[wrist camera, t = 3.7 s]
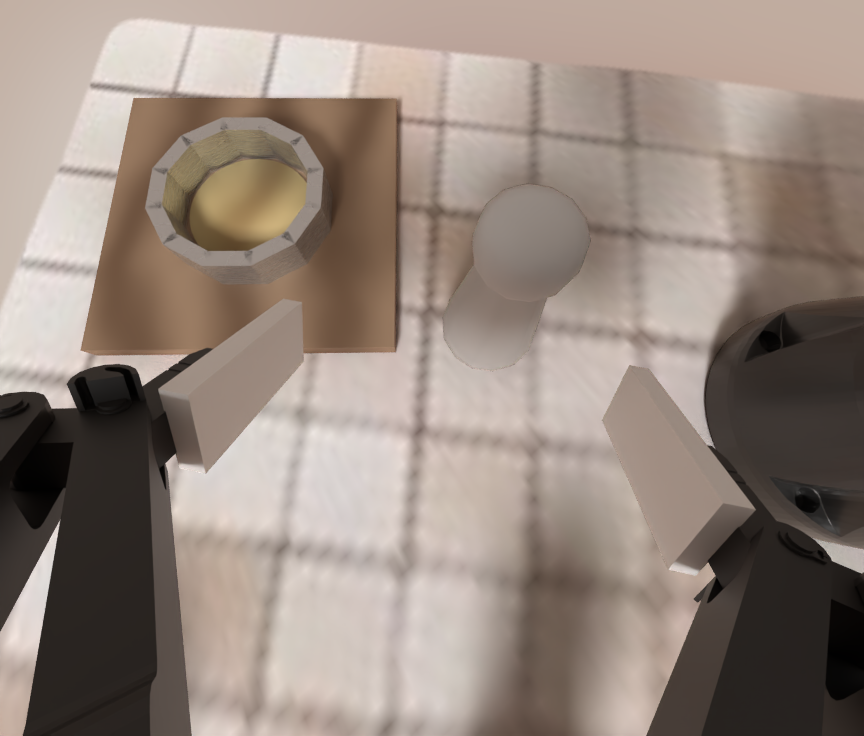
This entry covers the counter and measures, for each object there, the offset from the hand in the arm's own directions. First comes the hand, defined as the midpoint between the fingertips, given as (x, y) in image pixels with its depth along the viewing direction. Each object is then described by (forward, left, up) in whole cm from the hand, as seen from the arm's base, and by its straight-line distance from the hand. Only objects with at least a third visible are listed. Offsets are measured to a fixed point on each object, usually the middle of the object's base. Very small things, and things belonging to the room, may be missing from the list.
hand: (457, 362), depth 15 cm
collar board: (+13, -13, -10) cm, 21 cm away
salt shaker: (-3, -4, -10) cm, 11 cm away
